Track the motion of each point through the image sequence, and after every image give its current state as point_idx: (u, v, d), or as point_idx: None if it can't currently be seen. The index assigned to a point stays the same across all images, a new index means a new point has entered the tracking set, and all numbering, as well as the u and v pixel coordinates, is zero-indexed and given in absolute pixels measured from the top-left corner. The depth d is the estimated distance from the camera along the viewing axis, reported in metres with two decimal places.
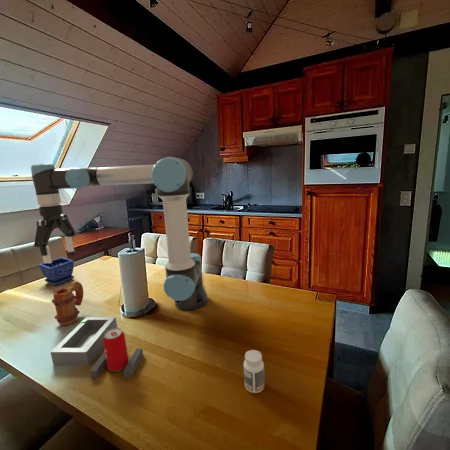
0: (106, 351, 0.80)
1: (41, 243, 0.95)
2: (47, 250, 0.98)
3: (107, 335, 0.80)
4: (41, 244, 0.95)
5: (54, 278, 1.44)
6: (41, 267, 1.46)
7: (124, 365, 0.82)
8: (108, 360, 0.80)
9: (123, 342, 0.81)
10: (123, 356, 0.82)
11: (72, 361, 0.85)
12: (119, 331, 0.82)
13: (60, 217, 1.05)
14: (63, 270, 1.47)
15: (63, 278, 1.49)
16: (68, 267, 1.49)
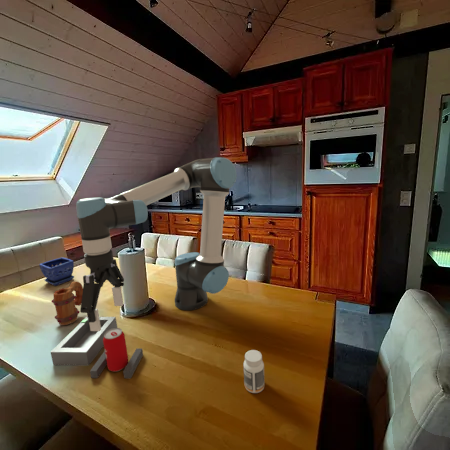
0: (106, 351, 0.80)
1: (90, 308, 0.70)
2: (96, 314, 0.73)
3: (107, 335, 0.80)
4: (90, 309, 0.70)
5: (54, 278, 1.44)
6: (41, 267, 1.46)
7: (124, 365, 0.82)
8: (108, 360, 0.80)
9: (123, 342, 0.81)
10: (123, 356, 0.82)
11: (72, 361, 0.85)
12: (119, 331, 0.82)
13: (109, 265, 0.80)
14: (63, 270, 1.47)
15: (63, 278, 1.49)
16: (68, 267, 1.49)
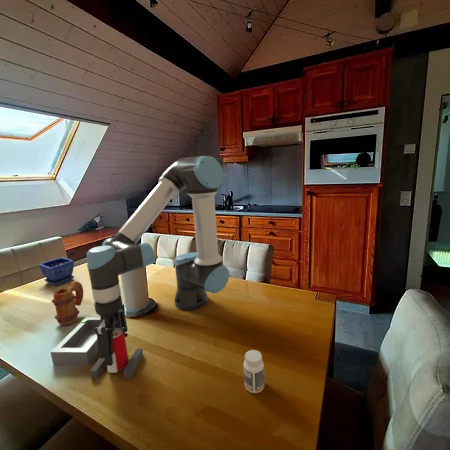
0: None
1: (108, 354, 0.76)
2: (113, 358, 0.79)
3: None
4: (108, 355, 0.76)
5: (54, 278, 1.44)
6: (41, 267, 1.46)
7: (124, 365, 0.82)
8: None
9: (123, 342, 0.81)
10: (123, 356, 0.82)
11: (72, 361, 0.85)
12: (119, 331, 0.82)
13: None
14: (63, 270, 1.47)
15: (63, 278, 1.49)
16: (68, 267, 1.49)
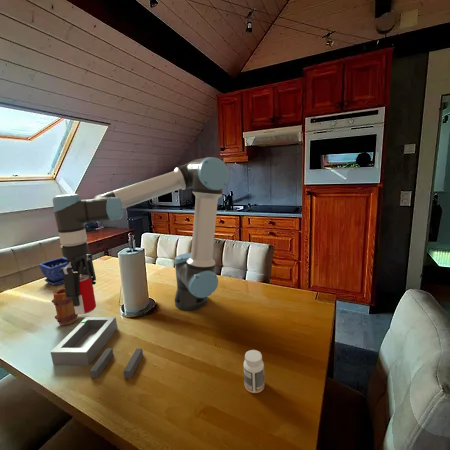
0: None
1: (74, 293, 0.81)
2: (80, 299, 0.84)
3: None
4: (74, 295, 0.81)
5: (54, 278, 1.44)
6: (41, 267, 1.46)
7: (91, 308, 0.87)
8: None
9: (90, 286, 0.87)
10: (90, 299, 0.87)
11: (72, 361, 0.85)
12: (86, 277, 0.88)
13: (85, 255, 0.88)
14: None
15: (63, 278, 1.49)
16: None
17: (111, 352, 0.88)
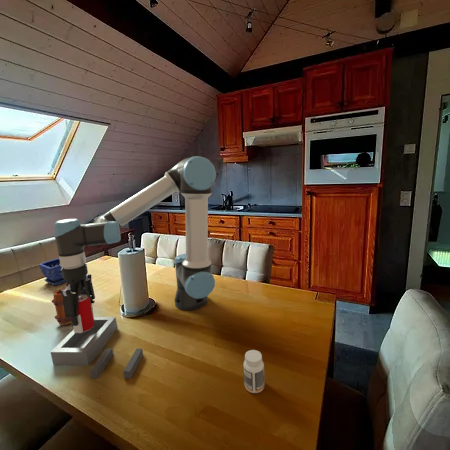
0: None
1: (72, 314, 0.85)
2: (78, 319, 0.88)
3: None
4: (73, 315, 0.85)
5: (54, 278, 1.44)
6: (41, 267, 1.46)
7: (89, 327, 0.91)
8: None
9: (88, 306, 0.91)
10: (89, 319, 0.91)
11: (72, 361, 0.85)
12: (85, 296, 0.92)
13: (84, 276, 0.92)
14: None
15: None
16: None
17: (111, 352, 0.88)
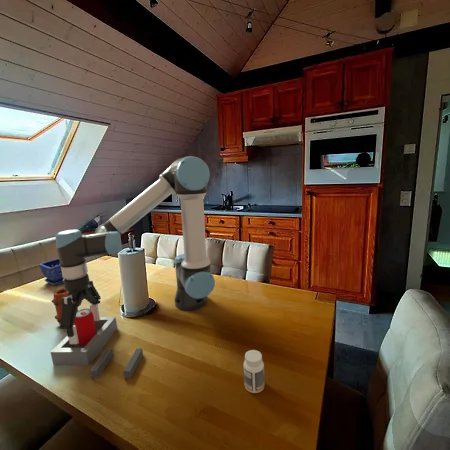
0: (76, 328, 0.90)
1: (68, 325, 0.82)
2: (74, 330, 0.85)
3: (77, 314, 0.91)
4: (68, 326, 0.82)
5: (54, 278, 1.44)
6: (41, 267, 1.46)
7: None
8: None
9: (91, 320, 0.92)
10: (92, 333, 0.92)
11: (72, 361, 0.85)
12: (88, 311, 0.93)
13: (86, 286, 0.93)
14: None
15: (63, 278, 1.49)
16: None
17: (111, 352, 0.88)
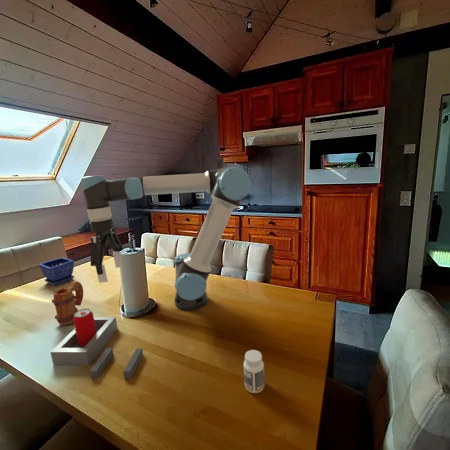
0: (76, 328, 0.90)
1: (98, 261, 0.88)
2: (103, 268, 0.91)
3: (77, 314, 0.91)
4: (98, 262, 0.88)
5: (54, 278, 1.44)
6: (41, 267, 1.46)
7: None
8: (77, 336, 0.91)
9: (91, 321, 0.92)
10: (92, 333, 0.92)
11: (72, 361, 0.85)
12: (88, 311, 0.93)
13: (110, 231, 0.98)
14: (63, 270, 1.47)
15: (63, 278, 1.49)
16: (68, 267, 1.49)
17: (111, 352, 0.88)
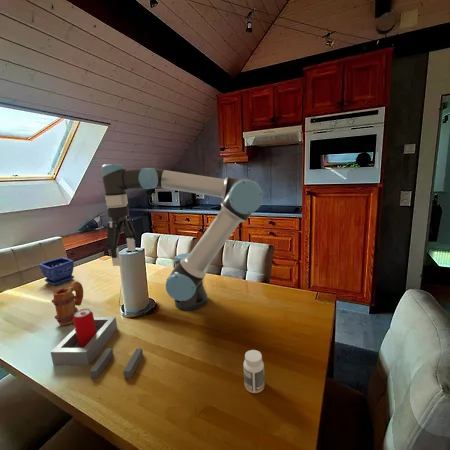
0: (76, 328, 0.90)
1: (113, 245, 0.93)
2: (117, 252, 0.95)
3: (77, 314, 0.91)
4: (113, 246, 0.92)
5: (54, 278, 1.44)
6: (41, 267, 1.46)
7: None
8: (77, 336, 0.91)
9: (91, 321, 0.92)
10: (92, 333, 0.92)
11: (72, 361, 0.85)
12: (88, 311, 0.93)
13: (125, 218, 1.03)
14: (63, 270, 1.47)
15: (63, 278, 1.49)
16: (68, 267, 1.49)
17: (111, 352, 0.88)
